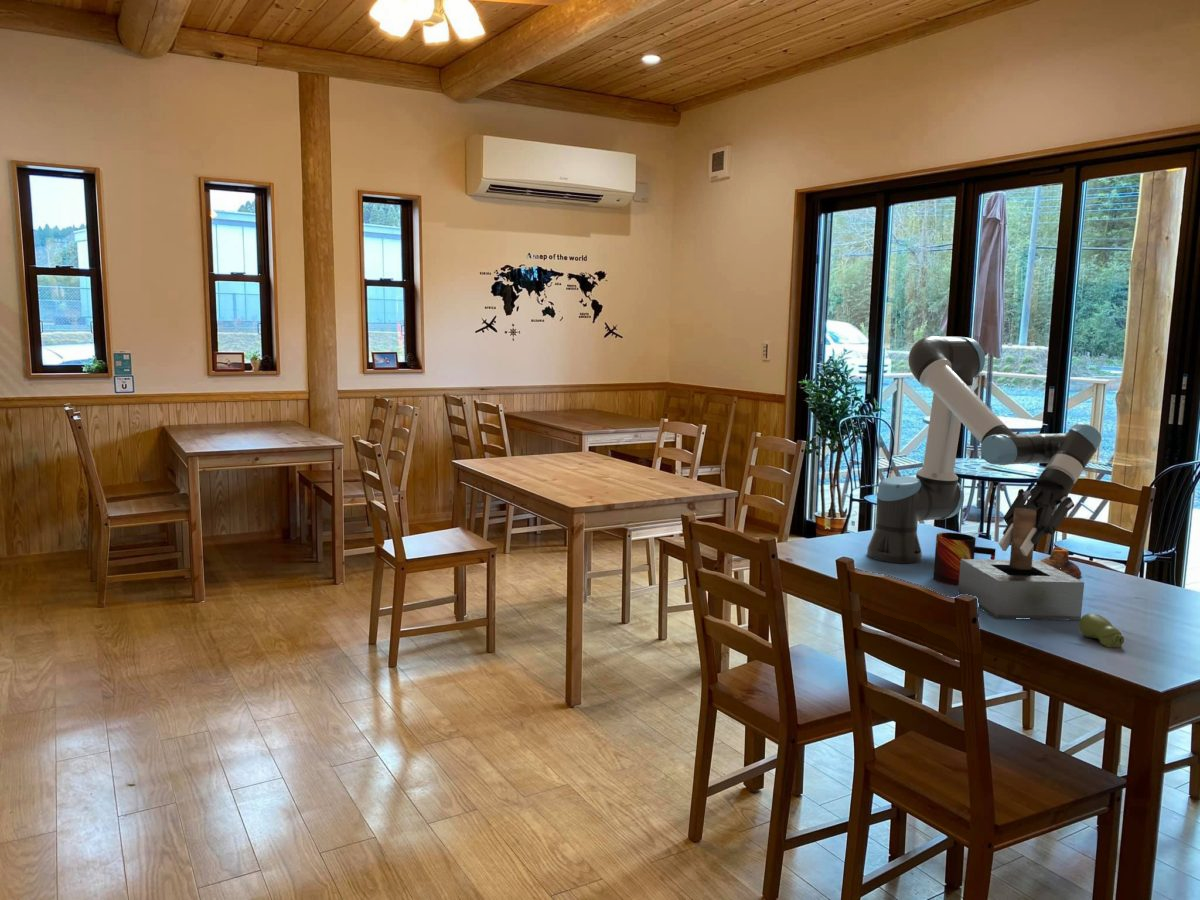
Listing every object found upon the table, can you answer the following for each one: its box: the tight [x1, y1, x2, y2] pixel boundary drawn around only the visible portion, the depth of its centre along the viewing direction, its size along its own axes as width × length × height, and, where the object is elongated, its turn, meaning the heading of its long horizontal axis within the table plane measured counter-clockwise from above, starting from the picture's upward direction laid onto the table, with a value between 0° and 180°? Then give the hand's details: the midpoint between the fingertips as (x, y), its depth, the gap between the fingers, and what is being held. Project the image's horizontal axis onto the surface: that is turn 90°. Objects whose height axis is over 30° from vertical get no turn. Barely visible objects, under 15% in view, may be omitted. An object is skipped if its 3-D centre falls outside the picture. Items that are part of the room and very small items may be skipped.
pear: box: [1078, 612, 1125, 648], centre depth 191 cm, size 6×5×10 cm
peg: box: [1009, 508, 1038, 570], centre depth 213 cm, size 5×5×14 cm
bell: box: [1039, 546, 1082, 579], centre depth 248 cm, size 12×12×7 cm
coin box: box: [957, 558, 1085, 621], centre depth 214 cm, size 20×20×9 cm
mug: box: [932, 532, 996, 587], centre depth 236 cm, size 10×14×12 cm
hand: (1012, 549), depth 211 cm, fingers closed on peg, 5 cm apart
